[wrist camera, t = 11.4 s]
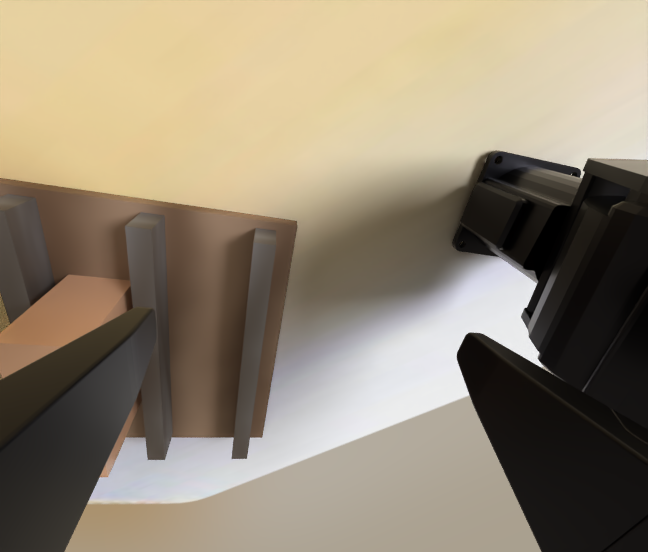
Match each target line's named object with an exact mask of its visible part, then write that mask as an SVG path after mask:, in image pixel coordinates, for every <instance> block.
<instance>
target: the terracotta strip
mask: <svg viewBox="0 0 648 552" xmlns="http://www.w3.org/2000/svg"><path fill="white" fill-rule="evenodd" d="M131 309H133V304H132V294H131V284H130V280H121V279H110V278H100V277H90V276H79V275H67V276H66V277H65V278H64V279H63V280H62V281H60V282H59V283H58V284H57V285H56V286H55V287H53V288H52V289H51V290H50V291H49V292H48V293H46V294H45V295H44V296H43V297H42V298H41V299H39V300H38V301H37V302H36V303H35V304H34V305H32V306H31V307H30V308H29V309H28V310H27V311H25V312H24V313H23V314H22V315H21V316H20V317H18V318H17V319H16V320H15V321H14V322H12V323H11V324H10V325H9V326H8V327H7V328H5V329H4V330H3V331H2V332H1V333H0V374H1V376H2V379H3V378H5V377H7V376H8V375H10V374H12V373H14V372H16V371H18V370H20V369H21V368H23V367H25V366H27V365H29V364H31V363H33V362H34V361H36V360H38V359H40V358H42V357H44V356H46V355H47V354H49V353H51V352H53V351H55V350H57V349H59V348H60V347H62V346H64V345H66V344H68V343H70V342H72V341H73V340H75V339H77V338H79V337H81V336H83V335H85V334H86V333H88V332H90V331H92V330H94V329H96V328H97V327H99V326H101V325H103V324H105V323H107V322H109V321H110V320H112V319H114V318H116V317H118V316H120V315H122V314H123V313H125V312H127V311H129V310H131ZM141 401H142V396H141V388H140V391H139V393H138V396H137V398H136V401H135V403H134V405H133V407H132V410H131V412H130V414H129V416H128V418H127V420H126V422H125V424H124V427H123V429H122V431H121V433H120V435H119V437H118V439H117V441H116V443H115V446H114V448H113V450H112V452H111V454H110V456H109V458H108V460H107V462H106V465H105V467H104V469H103V471H102V473H101V475H100V477H108V476H109V474H110V471H111V469H112V467H113V465H114V462H115V460H116V458H117V456H118V453H119V451H120V449H121V446H122V444H123V442H124V440H125V437H126V435H127V433H128V431H129V428H130V426H131V424H132V421H133V419H134V417H135V415H136V412H137V410H138V408H139V406H140V403H141Z"/></svg>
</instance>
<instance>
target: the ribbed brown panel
mask: <svg viewBox="0 0 648 552" xmlns="http://www.w3.org/2000/svg"><path fill="white" fill-rule="evenodd" d="M296 230H297V221H292V220H285V219H278V218H271V217H265V216H258V215H251V214H244V213H237V212H230V211H223V210H216V209H209V208H202V207H195V206H189V205H182V204H175V203H168V202H161V201H154V200H147V199H140V198H133V197H126V196H120V195H113V194H106V193H99V192H92V191H85V190H78V189H71V188H64V187H57V186H51V185H44V184H37V183H30V182H23V181H16V180H9V179H2V178H0V293H1V296H2V299H3V303H4V306H5V309H6V312H7V315H8V318H9V321H10V324H11V323H12V322H14V321H15V320H16V319H17V318H18V317H20V316H21V315H22V314H23V313H24V312H25V311H27V310H28V309H29V308H30V307H31V306H32V305H34V304H35V303H36V302H37V301H38V300H39V299H41V298H42V297H43V296H44V295H45V294H46V293H48V292H49V291H50V290H51V289H52V288H53V287H55V286H56V285H57V284H58V283H59V282H60V281H62V280H63V279H64V278H65V277H66V276H67V275H79V276H90V277H100V278H110V279H121V280H130V284H131V294H132V304H133V308H135V307H147V308H153V309H154V310H155V315H156V329H157V338H156V343H155V346H154V349H153V352H152V355H151V358H150V361H149V364H148V367H147V370H146V373H145V376H144V379H143V382H142V385H141V396H142V401H141V403H140V406H139V408H138V410H137V412H136V415H135V417H134V419H133V421H132V424H131V426H130V428H129V431H128V433H127V435H126V437H146V446H147V457H148V460H165V457H166V454H167V451H168V447H169V444H170V441H171V437H234V440H233V450H232V459H247V454H248V447H249V440H250V437H262V435H263V429H264V423H265V417H266V411H267V405H268V399H269V393H270V387H271V381H272V375H273V369H274V363H275V357H276V351H277V345H278V339H279V333H280V327H281V321H282V315H283V309H284V303H285V297H286V291H287V284H288V278H289V272H290V266H291V260H292V254H293V248H294V242H295V236H296Z"/></svg>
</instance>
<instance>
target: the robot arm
mask: <svg viewBox="0 0 648 552" xmlns="http://www.w3.org/2000/svg"><path fill="white" fill-rule="evenodd" d="M496 157H499V159H498V161H497V162H496V163H495V159H496ZM583 171H584V172H585V173H584V176H583V178H580V175H581V171H580V169H578V168H575V167H570V166H566V165H561V164H557V163H552V162H548V161H543V160H539V159H534V158H530V157H525V156H521V155H516V154H512V153H507V152H503V151H493V152H492V153H491V154H489V156H488V158H487V160H486V163H485V165H484V168H483V170H482V172H481V175H480V177H479V180H478V182H477V184H476V185H475V187H474V189H473V192H472V194H471V197H470V199H469V202H468V204H467V206H466V209H465V211H464V214H463V216H462V219H461V223H460V225H459V228H458V230H457V233H456V235H455V238H454V240H453V243H452V244H453V247H454V248H455V249H456V250H458V251H462V252H469V253H476V254H483V255H490V256H498V257H501V258H502V259H503V260H505V261H506V262H508V263H509V264H510V265H512V266H513V267H515V268H516V269H518V270H519V271H520V272H522V273H523V274H525V275H526V276H527V277H529V278H530V279H532V280H533V281H534V282H536V283H537V286H536V288H535V290H534V293H533V295H532V297H531V300H530V302H529V304H528V307H527V308H525V309H524V311H523V313H522V315H521V318H522V319H523V321H524V323H525V325H526V327H527V329H528V332H529V338H530V339H531V341H532V342H533V344H534V346H535V347H536V349H537V350H538V351H539V355H538V359H539V361H540V362H541V364H542V365H543V366H545V367H546V368H547V369H548V370H549V371H550V372H551V373H552V374H551V373H549V372H548V371H546V370H544V369H542V368H541V367H539V366H537V365H536V364H534V363H532V362H530V361H529V360H527V359H525V358H523V357H522V356H520V355H518V354H517V353H515V352H513V351H511V350H510V349H508V348H506V347H504V346H503V345H501V344H499V343H498V342H496V341H494V340H492V339H491V338H489V337H487V336H485V335H484V334H481V333H468V334H467V335H466V336H465V338H464V340H463V342H462V344H461V346H460V348H459V350H458V352H457V361H458V364H459V367H460V369H461V372H462V375H463V378H464V381H465V383H466V386H467V389H468V392H469V395H470V397H471V400H472V403H473V405H474V408H475V410H476V412H477V414H478V416H479V418H480V421H481V423H482V425H483V427H484V429H485V432H486V434H487V436H488V438H489V440H490V442H491V444H492V447H493V449H494V451H495V453H496V455H497V457H498V459H499V462H500V464H501V466H502V468H503V470H504V472H505V474H506V477H507V479H508V481H509V483H510V485H511V487H512V489H513V491H514V494H515V496H516V498H517V500H518V502H519V504H520V507H521V509H522V511H523V513H524V515H525V517H526V520H527V522H528V524H529V526H530V528H531V530H532V532H533V535H534V537H535V539H536V541H537V543H538V545H539V547H540V549H541V552H648V160H630V159H595V158H588V160H587V162H586V164H585V167H584V169H583ZM571 173H572V175H571ZM462 241H463V243H462V244H461V245H459V243H460V242H462ZM156 338H157V329H156V315H155V310H154V309H153V308H147V307H135V308H133V309H131V310H129V311H127V312H125V313H123V314H122V315H120V316H118V317H116V318H114V319H112V320H110V321H109V322H107V323H105V324H103V325H101V326H99V327H97V328H96V329H94V330H92V331H90V332H88V333H86V334H85V335H83V336H81V337H79V338H77V339H75V340H73V341H72V342H70V343H68V344H66V345H64V346H62V347H60V348H59V349H57V350H55V351H53V352H51V353H49V354H47V355H46V356H44V357H42V358H40V359H38V360H36V361H34V362H33V363H31V364H29V365H27V366H25V367H23V368H21V369H20V370H18V371H16V372H14V373H12V374H10V375H8V376H7V377H5V378H3V379H1V380H0V552H64V551H65V549H66V547H67V545H68V543H69V540H70V539H71V536H72V534H73V532H74V530H75V528H76V526H77V524H78V521H79V520H80V517H81V515H82V513H83V511H84V509H85V507H86V505H87V503H88V501H89V498H90V496H91V494H92V492H93V490H94V488H95V486H96V484H97V482H98V479H99V477H100V475H101V473H102V471H103V469H104V467H105V465H106V462H107V460H108V458H109V456H110V454H111V452H112V450H113V448H114V446H115V443H116V441H117V439H118V437H119V435H120V433H121V431H122V429H123V427H124V424H125V422H126V420H127V418H128V416H129V414H130V412H131V410H132V407H133V405H134V403H135V401H136V398H137V396H138V393H139V391H140V388H141V385H142V382H143V379H144V376H145V373H146V370H147V367H148V364H149V361H150V358H151V355H152V352H153V349H154V346H155V343H156Z"/></svg>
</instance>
